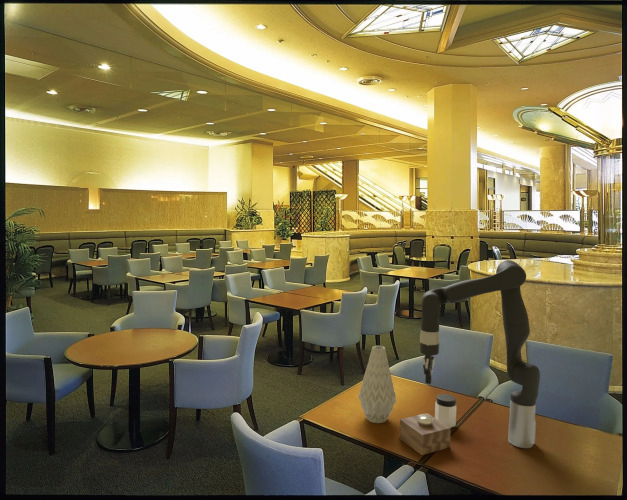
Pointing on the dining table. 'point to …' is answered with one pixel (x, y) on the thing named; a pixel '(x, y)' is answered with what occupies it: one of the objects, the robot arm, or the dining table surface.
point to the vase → (377, 387)
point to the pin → (425, 420)
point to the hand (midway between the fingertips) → (428, 383)
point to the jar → (446, 409)
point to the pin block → (424, 435)
